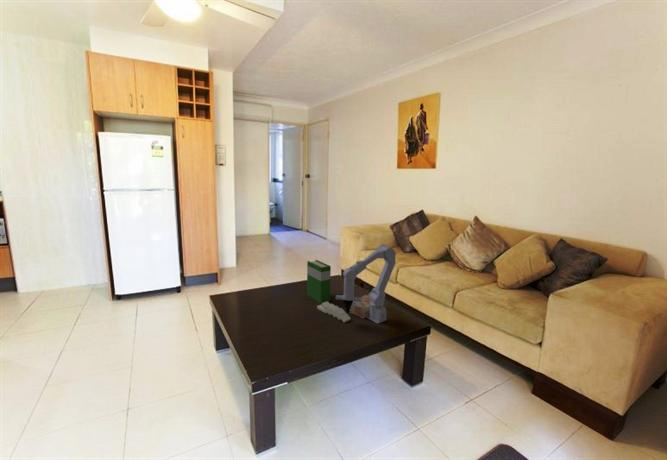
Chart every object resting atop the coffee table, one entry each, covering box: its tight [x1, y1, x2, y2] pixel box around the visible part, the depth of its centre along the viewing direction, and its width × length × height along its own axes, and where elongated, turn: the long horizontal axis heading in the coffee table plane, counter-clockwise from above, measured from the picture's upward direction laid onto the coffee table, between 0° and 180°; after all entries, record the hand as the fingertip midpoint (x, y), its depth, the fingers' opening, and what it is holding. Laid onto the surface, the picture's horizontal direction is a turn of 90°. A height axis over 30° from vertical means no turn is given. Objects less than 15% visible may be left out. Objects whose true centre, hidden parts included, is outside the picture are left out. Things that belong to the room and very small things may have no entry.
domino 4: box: [330, 305, 342, 321], centre depth 188 cm, size 2×5×9 cm
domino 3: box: [326, 303, 337, 318], centre depth 190 cm, size 2×5×9 cm
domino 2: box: [320, 301, 333, 316], centre depth 193 cm, size 2×5×9 cm
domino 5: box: [335, 307, 351, 323], centre depth 184 cm, size 2×5×9 cm
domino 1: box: [316, 304, 328, 314], centre depth 197 cm, size 2×5×9 cm
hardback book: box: [306, 259, 332, 304], centre depth 214 cm, size 18×7×24 cm, turn 35°
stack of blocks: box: [348, 293, 370, 319], centre depth 198 cm, size 21×6×12 cm
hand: (348, 312), depth 181 cm, fingers closed
